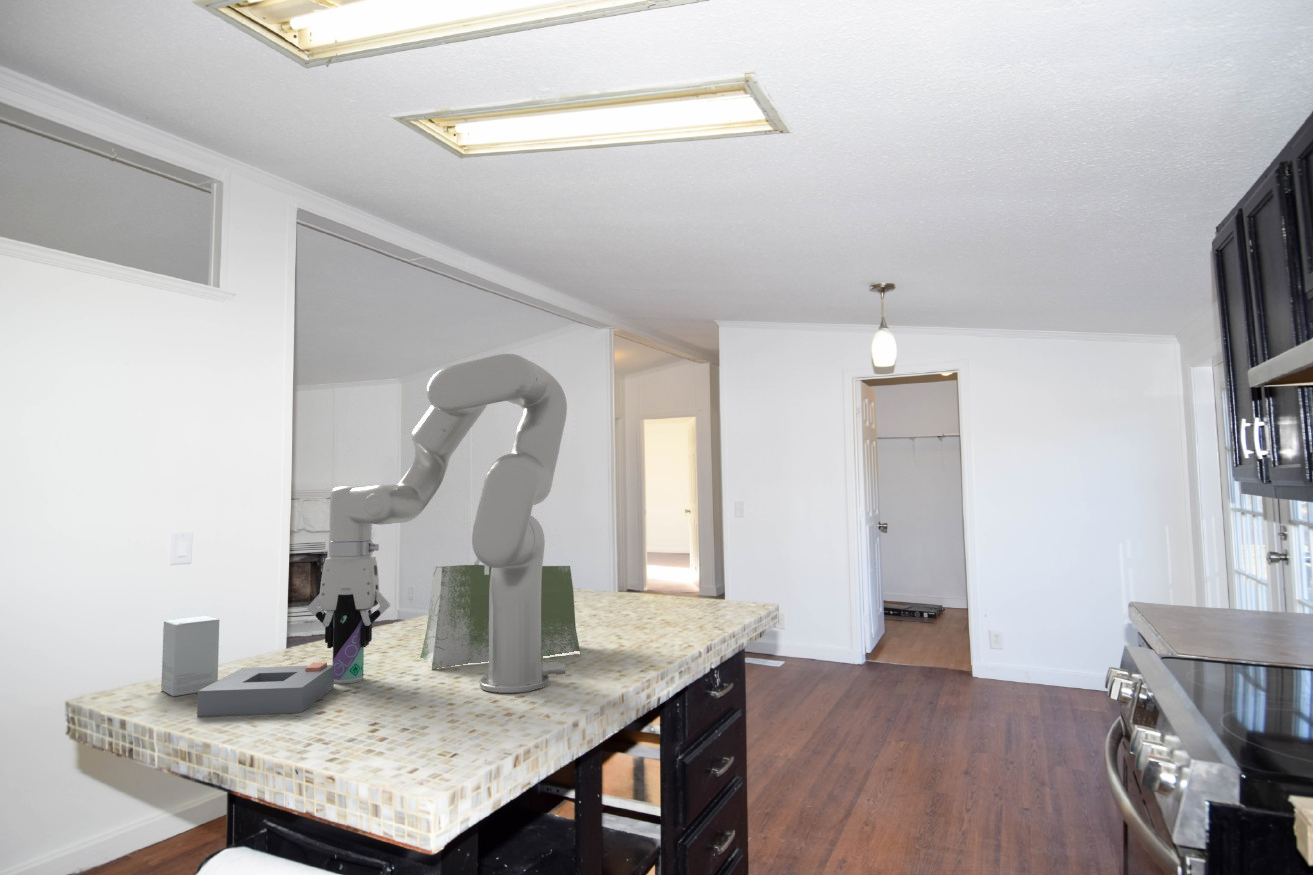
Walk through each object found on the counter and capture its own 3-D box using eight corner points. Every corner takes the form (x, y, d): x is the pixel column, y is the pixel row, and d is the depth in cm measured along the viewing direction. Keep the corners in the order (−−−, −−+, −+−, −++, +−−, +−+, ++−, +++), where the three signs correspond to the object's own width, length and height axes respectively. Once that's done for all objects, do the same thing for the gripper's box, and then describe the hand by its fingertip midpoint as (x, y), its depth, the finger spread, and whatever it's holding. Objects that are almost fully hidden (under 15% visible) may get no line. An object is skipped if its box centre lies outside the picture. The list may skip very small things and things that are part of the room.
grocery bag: (562, 643, 175) (562, 544, 177) (581, 655, 163) (581, 547, 164) (420, 657, 162) (421, 549, 163) (429, 671, 149) (430, 554, 151)
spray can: (337, 685, 138) (340, 576, 140) (328, 680, 142) (330, 573, 144) (367, 680, 142) (369, 573, 143) (357, 675, 146) (359, 571, 148)
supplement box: (218, 689, 137) (220, 618, 138) (171, 697, 131) (174, 624, 132) (205, 682, 142) (207, 614, 143) (159, 690, 136) (162, 619, 137)
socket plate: (333, 687, 137) (334, 661, 138) (301, 712, 121) (302, 683, 122) (242, 690, 136) (242, 664, 136) (197, 716, 120) (198, 687, 120)
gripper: (400, 548, 149) (399, 641, 147) (310, 549, 147) (308, 643, 146) (391, 551, 141) (389, 649, 140) (296, 552, 139) (293, 651, 138)
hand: (348, 645), depth 143 cm, fingers closed on spray can, 5 cm apart
